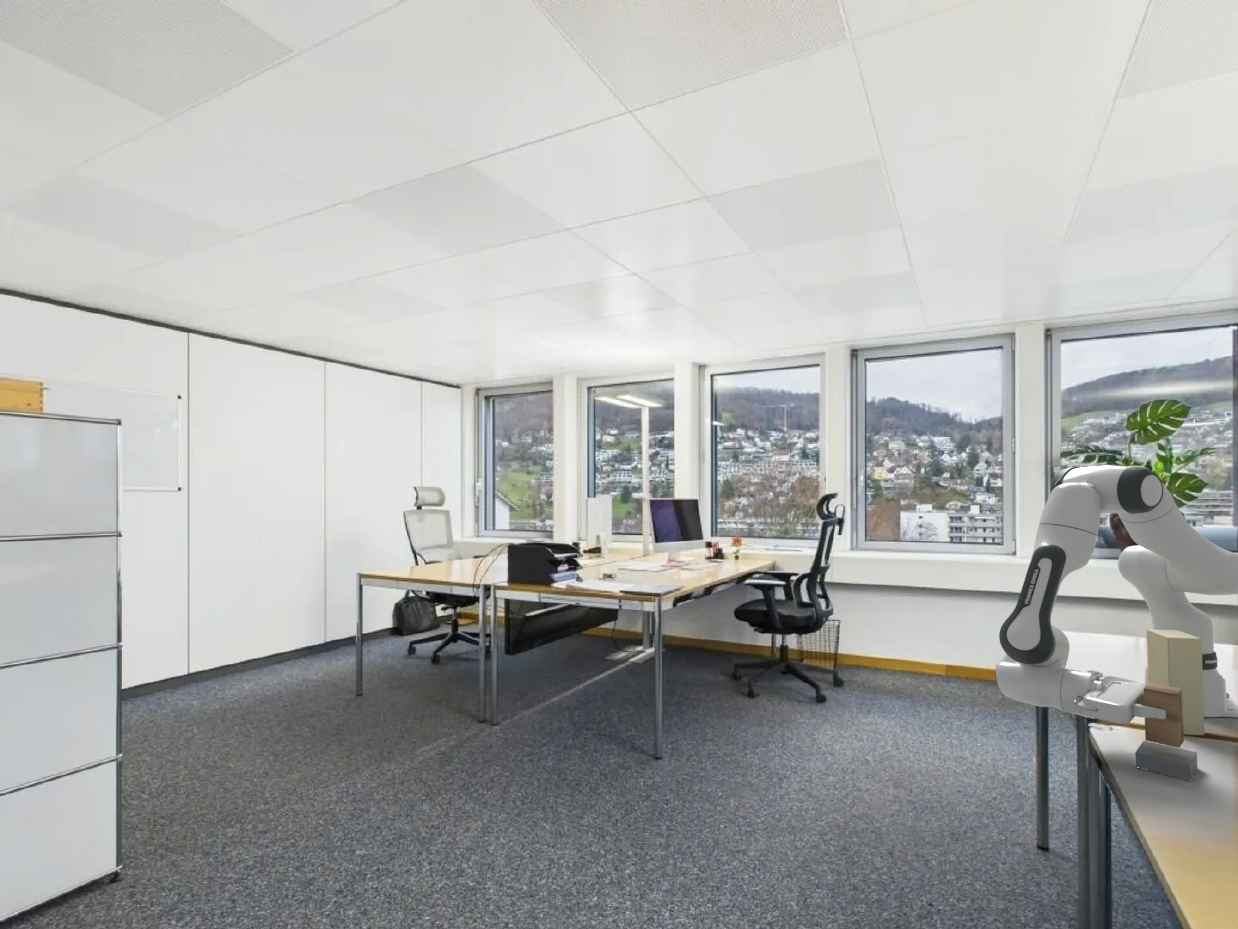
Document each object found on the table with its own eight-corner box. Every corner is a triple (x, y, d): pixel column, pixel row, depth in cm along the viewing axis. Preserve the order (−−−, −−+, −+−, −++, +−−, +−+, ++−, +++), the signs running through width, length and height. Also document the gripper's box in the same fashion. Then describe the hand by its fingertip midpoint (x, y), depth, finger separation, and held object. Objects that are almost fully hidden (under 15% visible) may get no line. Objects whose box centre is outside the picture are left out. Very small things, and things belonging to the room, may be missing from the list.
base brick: (1144, 755, 131) (1143, 740, 131) (1197, 768, 125) (1196, 752, 125) (1135, 767, 125) (1135, 752, 125) (1190, 781, 119) (1190, 765, 119)
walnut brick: (1150, 733, 129) (1148, 682, 129) (1183, 740, 125) (1181, 688, 125) (1145, 740, 125) (1143, 688, 126) (1179, 748, 122) (1177, 694, 122)
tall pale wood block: (1210, 736, 140) (1205, 638, 140) (1170, 734, 141) (1166, 637, 142) (1185, 722, 147) (1181, 630, 148) (1148, 721, 149) (1144, 629, 150)
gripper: (1068, 689, 128) (1158, 706, 118) (1095, 668, 142) (1177, 682, 131) (1069, 721, 128) (1159, 741, 118) (1096, 697, 142) (1179, 714, 131)
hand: (1169, 710), depth 125 cm, fingers closed on walnut brick, 5 cm apart
